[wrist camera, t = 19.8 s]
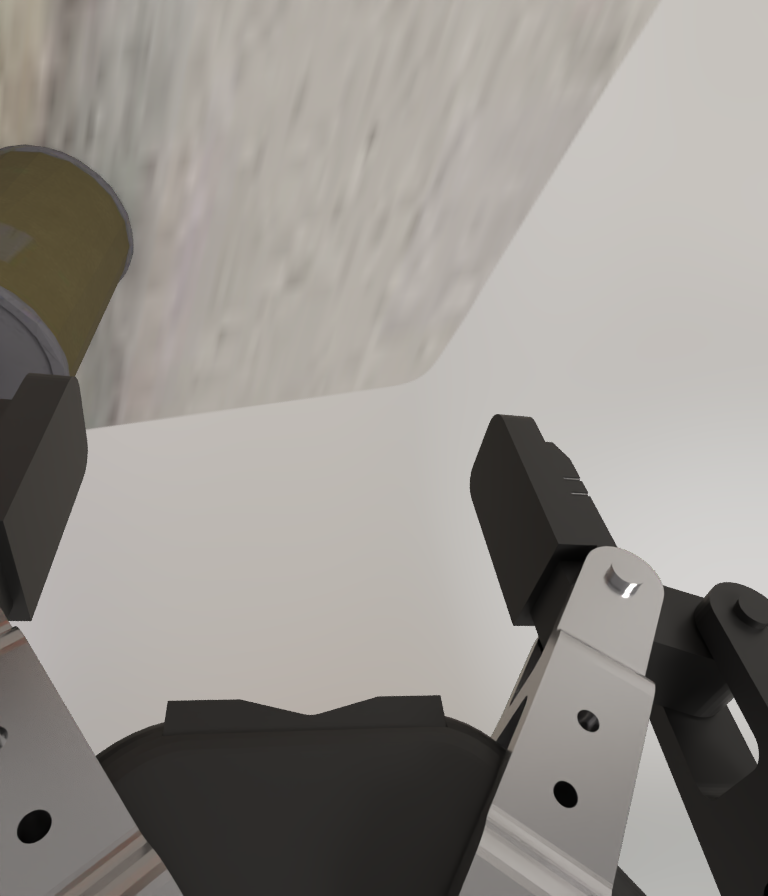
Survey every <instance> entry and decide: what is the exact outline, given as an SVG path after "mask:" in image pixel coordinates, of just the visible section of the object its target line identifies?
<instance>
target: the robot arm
mask: <svg viewBox="0 0 768 896" xmlns="http://www.w3.org/2000/svg"><path fill="white" fill-rule="evenodd" d="M87 454H88V447H87V437H86V429H85V422H84V415H83V408H82V401H81V394H80V387H79V383H78V380H77V378H76V377H73V376H62V375H50V374H39V373H28V374H27V375H26V376H25V378H24V379H23V381H22V383H21V384H20V386H19V388H18V390H17V391H16V393H15V395H14V397H13V398H12V400H11V399H0V896H646V895H645V893H643V891H641V889H640V888H639V887H638V886H637V885H636V884H635V883H633V881H632V880H631V879H630V878H629V877H628V876H627V875H626V874H625V873H624V872H623V871H622V870H621V868H620V867H619V866H618V860H619V856H620V851H621V847H622V842H623V837H624V833H625V828H626V824H627V819H628V814H629V809H630V805H631V800H632V796H633V791H634V787H635V782H636V778H637V773H638V768H639V763H640V759H641V754H642V750H643V746H644V741H645V736H646V731H647V727H648V722H649V719H650V721H651V724H652V726H653V729H654V731H655V734H656V736H657V739H658V741H659V743H660V746H661V749H662V751H663V753H664V756H665V758H666V761H667V763H668V766H669V768H670V771H671V773H672V776H673V778H674V780H675V783H676V786H677V788H678V791H679V793H680V795H681V798H682V800H683V803H684V805H685V808H686V810H687V813H688V815H689V818H690V820H691V823H692V825H693V828H694V830H695V832H696V835H697V837H698V840H699V842H700V845H701V847H702V850H703V852H704V855H705V857H706V859H707V862H708V864H709V867H710V870H711V872H712V874H713V877H714V879H715V882H716V884H717V887H718V889H719V892H720V894H721V896H768V599H767V598H766V597H765V596H763V595H762V594H760V593H758V592H757V591H755V590H753V589H751V588H749V587H746V586H744V585H741V584H737V583H731V582H724V583H719V584H717V585H715V586H714V587H713V588H712V589H711V590H710V591H709V593H708V594H707V595H706V596H705V597H704V598H703V597H699V596H696V595H693V594H689V593H686V592H683V591H679V590H676V589H673V588H669V587H666V586H663V585H662V582H661V580H660V578H659V576H658V575H657V573H656V572H655V571H654V570H653V569H652V567H651V566H650V565H649V564H647V563H646V562H645V561H644V560H642V559H641V558H640V557H638V556H636V555H635V554H633V553H631V552H629V551H627V550H624V549H621V548H617V546H616V544H615V542H614V540H613V538H612V536H611V535H610V533H609V531H608V529H607V527H606V525H605V523H604V521H603V520H602V518H601V516H600V514H599V512H598V510H597V508H596V507H595V505H594V503H593V501H592V499H591V497H590V496H588V492H587V490H586V488H585V486H584V484H583V482H582V481H580V477H579V475H578V473H577V471H576V469H575V467H574V465H573V464H572V462H571V460H570V459H569V458H568V457H567V456H566V455H565V454H564V453H563V452H562V451H561V450H560V449H559V448H558V447H557V446H556V445H555V444H554V443H552V442H545V441H544V439H543V436H542V435H541V433H540V431H539V429H538V427H537V425H536V423H535V421H534V419H532V418H531V417H524V416H512V415H500V414H496V415H494V416H493V418H492V419H491V421H490V423H489V426H488V428H487V431H486V433H485V436H484V439H483V442H482V444H481V447H480V450H479V452H478V455H477V457H476V460H475V462H474V465H473V468H472V471H471V477H470V493H471V498H472V501H473V504H474V507H475V510H476V513H477V517H478V520H479V523H480V525H481V528H482V532H483V535H484V538H485V541H486V544H487V547H488V550H489V553H490V556H491V559H492V562H493V565H494V569H495V571H496V575H497V578H498V581H499V583H500V587H501V590H502V593H503V596H504V599H505V602H506V605H507V608H508V611H509V614H510V617H511V620H512V623H513V625H514V626H535V627H536V630H537V633H538V638H537V639H536V641H535V643H534V644H533V646H532V648H531V651H530V653H529V655H528V657H527V660H526V662H525V664H524V667H523V669H522V671H521V673H520V675H519V678H518V680H517V682H516V685H515V687H514V689H513V691H512V694H511V696H510V698H509V700H508V703H507V705H506V707H505V710H504V712H503V714H502V716H501V718H500V720H499V722H498V724H497V726H496V728H495V730H494V732H493V734H492V736H491V737H489V736H488V735H486V734H484V733H483V732H482V731H480V730H478V729H476V728H474V727H472V726H470V725H468V724H466V723H464V722H461V721H458V720H456V719H453V718H450V717H446V716H444V712H443V706H442V701H441V696H440V695H438V696H437V695H433V696H385V697H375V698H372V699H368V700H365V701H362V702H358V703H355V704H351V705H348V706H344V707H341V708H337V709H334V710H331V711H327V712H324V713H320V714H316V715H304V714H300V713H296V712H291V711H287V710H282V709H279V708H274V707H270V706H266V705H261V704H257V703H253V702H248V701H244V700H195V701H194V700H192V701H168V704H167V710H166V717H165V722H164V723H160V724H157V725H153V726H150V727H147V728H145V729H142V730H140V731H138V732H135V733H133V734H131V735H129V736H127V737H125V738H123V739H121V740H120V741H117V742H116V743H114V744H112V745H111V746H110V747H108V748H106V749H105V750H103V751H102V752H101V753H99V754H98V755H96V756H95V755H94V753H93V751H92V749H91V748H90V746H89V744H88V743H87V741H86V739H85V738H84V736H83V734H82V733H81V731H80V729H79V727H78V726H77V724H76V722H75V721H74V719H73V717H72V716H71V714H70V712H69V710H68V709H67V707H66V706H65V704H64V702H63V701H62V699H61V697H60V695H59V694H58V692H57V690H56V688H55V687H54V685H53V684H52V682H51V680H50V678H49V677H48V675H47V674H46V672H45V670H44V668H43V666H42V665H41V663H40V661H39V660H38V658H37V656H36V655H35V653H34V651H33V650H32V648H31V646H30V644H29V643H28V641H27V639H26V638H25V636H24V635H23V633H22V632H21V631H20V629H19V628H18V627H16V626H15V627H12V626H11V625H10V623H9V621H31V620H32V618H33V615H34V612H35V609H36V606H37V604H38V601H39V598H40V595H41V593H42V590H43V587H44V584H45V582H46V579H47V576H48V573H49V571H50V568H51V565H52V562H53V560H54V557H55V554H56V551H57V549H58V546H59V543H60V540H61V538H62V535H63V532H64V529H65V526H66V524H67V521H68V518H69V516H70V513H71V510H72V507H73V505H74V502H75V499H76V496H77V493H78V491H79V488H80V485H81V483H82V480H83V477H84V474H85V470H86V464H87ZM733 698H735V700H736V702H737V704H738V706H739V708H740V710H741V711H742V713H743V715H744V717H745V719H746V721H747V723H748V724H749V727H750V729H751V730H752V732H753V734H754V736H755V738H756V741H757V744H758V749H759V761H758V764H757V763H756V761H755V759H754V757H753V756H752V754H751V751H750V750H749V748H748V746H747V744H746V742H745V740H744V738H743V736H742V734H741V732H740V730H739V728H738V726H737V724H736V722H735V720H734V718H733V717H732V715H731V712H730V711H729V709H728V707H727V704H728V702H730V701H731V700H732V699H733Z"/></svg>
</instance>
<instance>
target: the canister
mask: <svg viewBox="0 0 768 896" xmlns="http://www.w3.org/2000/svg"><path fill="white" fill-rule="evenodd" d="M132 255H133V235H132V229H131V225H130V222H129V218H128V214H127V212H126V210H125V209H124V207H123V205H122V203H121V202H120V200H119V198H118V197H117V195H116V194H115V192H114V191H113V189H112V188H111V187H110V186H109V185H108V184H107V183H106V182H105V181H104V180H103V179H102V178H101V177H100V176H99V175H98V174H97V173H96V172H94V171H93V170H92V169H90V168H89V167H88V166H86V165H85V164H83V163H82V162H81V161H79V160H77V159H75V158H73V157H71V156H69V155H67V154H65V153H63V152H60V151H57V150H53V149H50V148H46V147H39V146H32V145H17V146H8V147H5V148H1V149H0V399H11V400H12V398H13V397H14V395H15V393H16V391H17V390H18V388H19V386H20V384H21V383H22V381H23V379H24V378H25V376H26V375H27V374H28V373H39V374H50V375H62V376H73V377H75V375H76V373H77V370H78V368H79V366H80V364H81V362H82V360H83V358H84V355H85V353H86V351H87V349H88V347H89V345H90V342H91V340H92V338H93V336H94V334H95V332H96V329H97V327H98V325H99V323H100V321H101V319H102V316H103V314H104V312H105V310H106V308H107V306H108V303H109V301H110V299H111V297H112V295H113V293H114V290H115V288H116V286H117V284H118V282H119V281H120V280H121V279H122V278H123V277H124V275H125V273H126V272H127V270H128V267H129V265H130V262H131V259H132Z"/></svg>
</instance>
